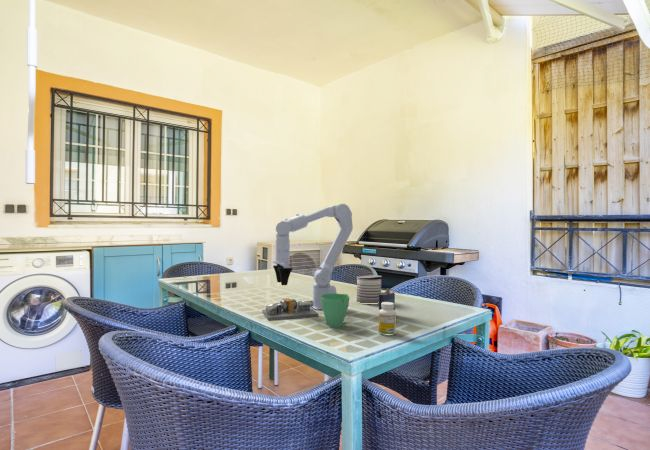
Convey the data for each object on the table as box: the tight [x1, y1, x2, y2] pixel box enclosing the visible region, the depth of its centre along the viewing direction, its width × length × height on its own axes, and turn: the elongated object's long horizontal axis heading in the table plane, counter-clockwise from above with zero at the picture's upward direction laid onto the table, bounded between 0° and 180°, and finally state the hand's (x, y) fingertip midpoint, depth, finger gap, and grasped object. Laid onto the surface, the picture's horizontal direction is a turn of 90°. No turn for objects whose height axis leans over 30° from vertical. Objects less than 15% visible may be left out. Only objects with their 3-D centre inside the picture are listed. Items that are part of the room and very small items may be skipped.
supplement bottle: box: [378, 302, 397, 335], centre depth 115 cm, size 5×5×10 cm
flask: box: [378, 288, 396, 312], centre depth 136 cm, size 9×3×11 cm, turn 138°
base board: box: [261, 307, 320, 321], centre depth 137 cm, size 19×12×1 cm, turn 110°
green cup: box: [321, 293, 350, 328], centre depth 125 cm, size 15×10×10 cm
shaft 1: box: [265, 302, 281, 315], centre depth 134 cm, size 6×4×3 cm, turn 145°
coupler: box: [279, 297, 298, 312], centre depth 138 cm, size 6×4×4 cm
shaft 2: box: [296, 300, 313, 311], centre depth 141 cm, size 6×4×3 cm, turn 110°
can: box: [355, 275, 382, 304], centre depth 161 cm, size 11×11×12 cm
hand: (282, 283), depth 148 cm, fingers open, 7 cm apart
